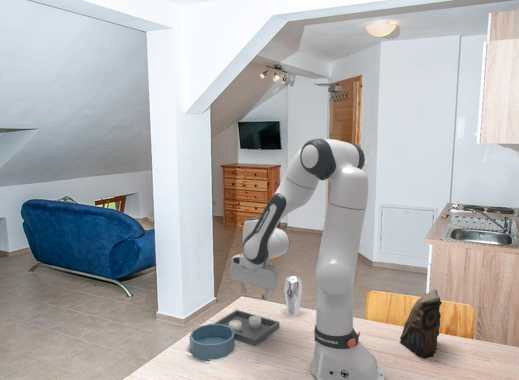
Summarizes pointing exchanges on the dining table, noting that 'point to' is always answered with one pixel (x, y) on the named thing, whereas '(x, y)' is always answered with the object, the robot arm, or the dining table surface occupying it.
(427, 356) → the owl
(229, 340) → the bowl
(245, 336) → the tray
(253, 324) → the stone
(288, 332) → the dining table surface
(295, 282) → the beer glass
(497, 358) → the dining table surface
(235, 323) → the stone
